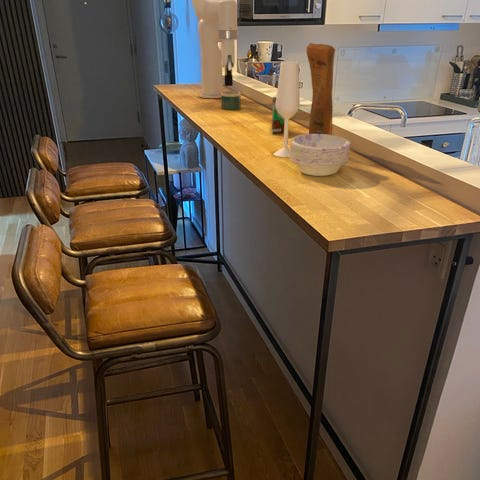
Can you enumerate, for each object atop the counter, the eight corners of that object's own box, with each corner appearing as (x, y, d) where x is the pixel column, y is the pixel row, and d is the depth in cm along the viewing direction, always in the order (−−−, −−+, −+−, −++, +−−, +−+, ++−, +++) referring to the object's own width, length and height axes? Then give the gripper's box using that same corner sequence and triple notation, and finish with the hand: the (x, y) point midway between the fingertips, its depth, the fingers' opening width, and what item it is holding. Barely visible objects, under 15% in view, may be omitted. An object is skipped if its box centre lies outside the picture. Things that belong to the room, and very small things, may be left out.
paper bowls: (333, 183, 123) (336, 150, 118) (278, 173, 130) (280, 142, 125) (355, 168, 134) (359, 138, 129) (304, 160, 140) (306, 130, 136)
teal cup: (220, 106, 211) (220, 91, 207) (239, 106, 212) (239, 90, 208) (222, 110, 204) (222, 94, 201) (241, 109, 205) (241, 93, 202)
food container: (291, 135, 166) (293, 103, 161) (272, 135, 166) (273, 102, 161) (288, 127, 177) (290, 96, 171) (271, 127, 177) (272, 96, 171)
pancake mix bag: (314, 157, 143) (323, 46, 128) (299, 141, 159) (305, 41, 144) (336, 156, 144) (348, 46, 129) (319, 141, 160) (328, 41, 145)
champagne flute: (298, 152, 148) (304, 61, 135) (294, 158, 143) (300, 63, 130) (276, 150, 150) (280, 60, 137) (271, 156, 144) (274, 63, 131)
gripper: (216, 35, 208) (218, 83, 217) (220, 36, 195) (221, 88, 204) (234, 35, 208) (235, 83, 218) (239, 36, 196) (239, 87, 205)
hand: (228, 85), depth 211 cm, fingers closed
